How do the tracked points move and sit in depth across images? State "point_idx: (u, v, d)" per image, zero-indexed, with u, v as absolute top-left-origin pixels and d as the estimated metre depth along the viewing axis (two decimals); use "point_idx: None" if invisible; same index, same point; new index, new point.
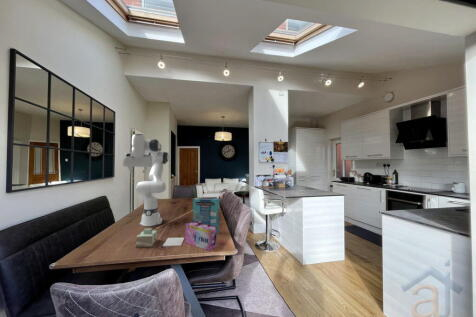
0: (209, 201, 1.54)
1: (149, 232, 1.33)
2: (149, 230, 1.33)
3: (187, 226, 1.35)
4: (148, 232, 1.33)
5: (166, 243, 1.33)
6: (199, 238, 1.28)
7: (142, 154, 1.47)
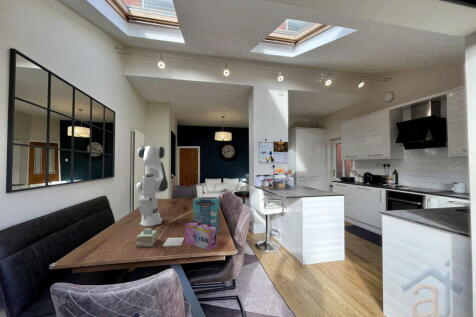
0: (209, 201, 1.54)
1: (149, 232, 1.33)
2: (149, 230, 1.33)
3: (187, 226, 1.35)
4: (148, 232, 1.33)
5: (166, 243, 1.33)
6: (200, 238, 1.28)
7: None
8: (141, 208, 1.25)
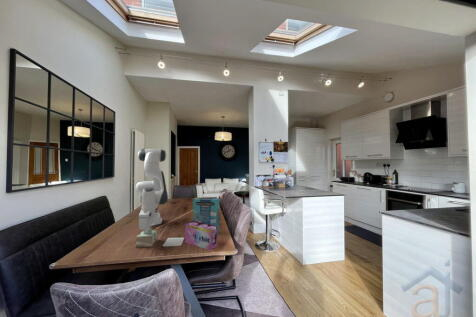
0: (209, 201, 1.54)
1: (149, 232, 1.33)
2: (149, 230, 1.33)
3: (187, 226, 1.35)
4: (148, 232, 1.33)
5: (166, 243, 1.33)
6: (200, 237, 1.28)
7: None
8: (140, 224, 1.24)
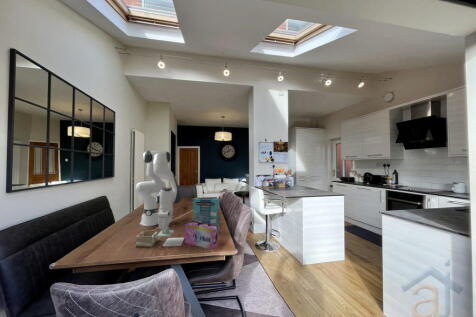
0: (209, 201, 1.54)
1: (167, 231, 1.34)
2: (167, 229, 1.34)
3: (186, 226, 1.35)
4: None
5: (166, 243, 1.33)
6: (201, 237, 1.29)
7: None
8: (160, 223, 1.25)
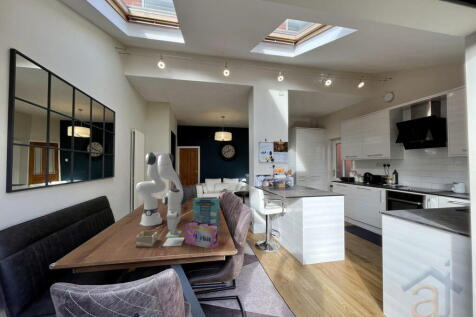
0: (209, 201, 1.54)
1: (175, 232, 1.35)
2: (175, 230, 1.35)
3: (186, 226, 1.34)
4: None
5: (166, 243, 1.33)
6: (201, 237, 1.29)
7: None
8: (169, 224, 1.26)
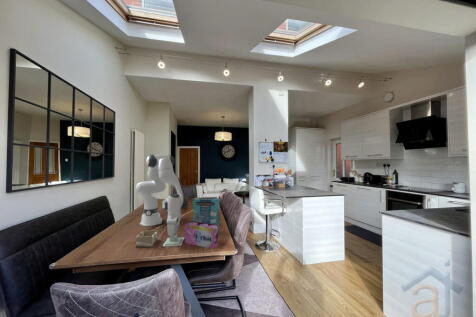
0: (209, 201, 1.54)
1: (175, 239, 1.35)
2: (175, 237, 1.35)
3: (186, 226, 1.34)
4: (174, 239, 1.35)
5: None
6: (201, 237, 1.29)
7: None
8: (168, 230, 1.26)
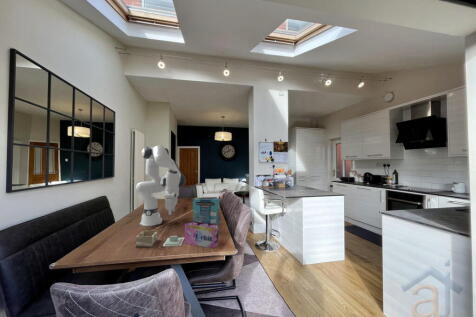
0: (209, 201, 1.54)
1: (175, 239, 1.35)
2: (175, 237, 1.35)
3: (186, 226, 1.34)
4: (174, 239, 1.35)
5: None
6: (202, 237, 1.29)
7: None
8: (166, 204, 1.28)
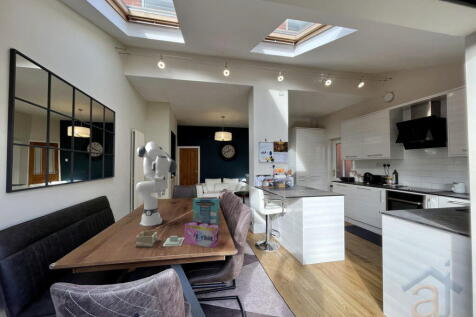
0: (209, 201, 1.54)
1: (175, 239, 1.35)
2: (175, 237, 1.35)
3: (186, 226, 1.34)
4: (174, 239, 1.35)
5: None
6: (202, 236, 1.30)
7: None
8: (155, 186, 1.33)
